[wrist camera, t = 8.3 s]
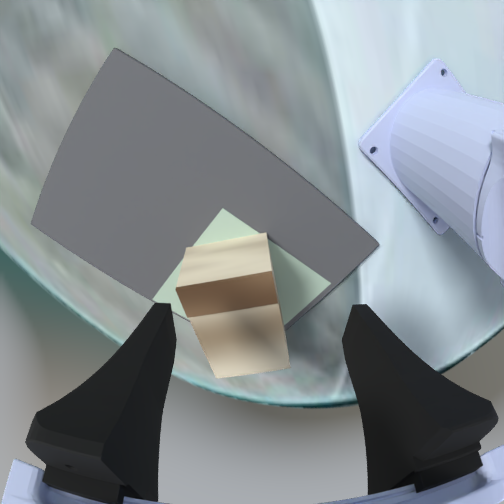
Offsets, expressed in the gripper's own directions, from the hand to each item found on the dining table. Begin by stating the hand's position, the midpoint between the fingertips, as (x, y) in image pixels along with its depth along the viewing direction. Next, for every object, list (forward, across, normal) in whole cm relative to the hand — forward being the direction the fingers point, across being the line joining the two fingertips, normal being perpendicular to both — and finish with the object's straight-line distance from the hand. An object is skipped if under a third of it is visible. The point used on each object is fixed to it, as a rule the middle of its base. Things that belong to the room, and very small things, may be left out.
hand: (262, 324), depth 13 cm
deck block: (+8, +1, +5) cm, 9 cm away
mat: (+8, +4, 0) cm, 9 cm away
